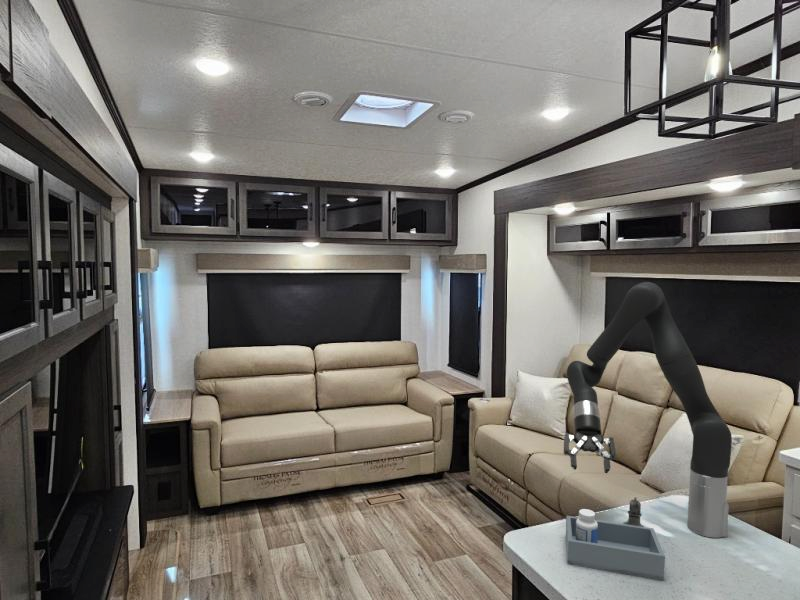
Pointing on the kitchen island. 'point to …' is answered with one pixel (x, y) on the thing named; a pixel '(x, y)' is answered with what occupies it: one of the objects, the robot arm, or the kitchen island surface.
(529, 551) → the kitchen island surface
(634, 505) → the grey stone chess piece
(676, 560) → the kitchen island surface
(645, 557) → the tote
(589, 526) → the pill bottle
